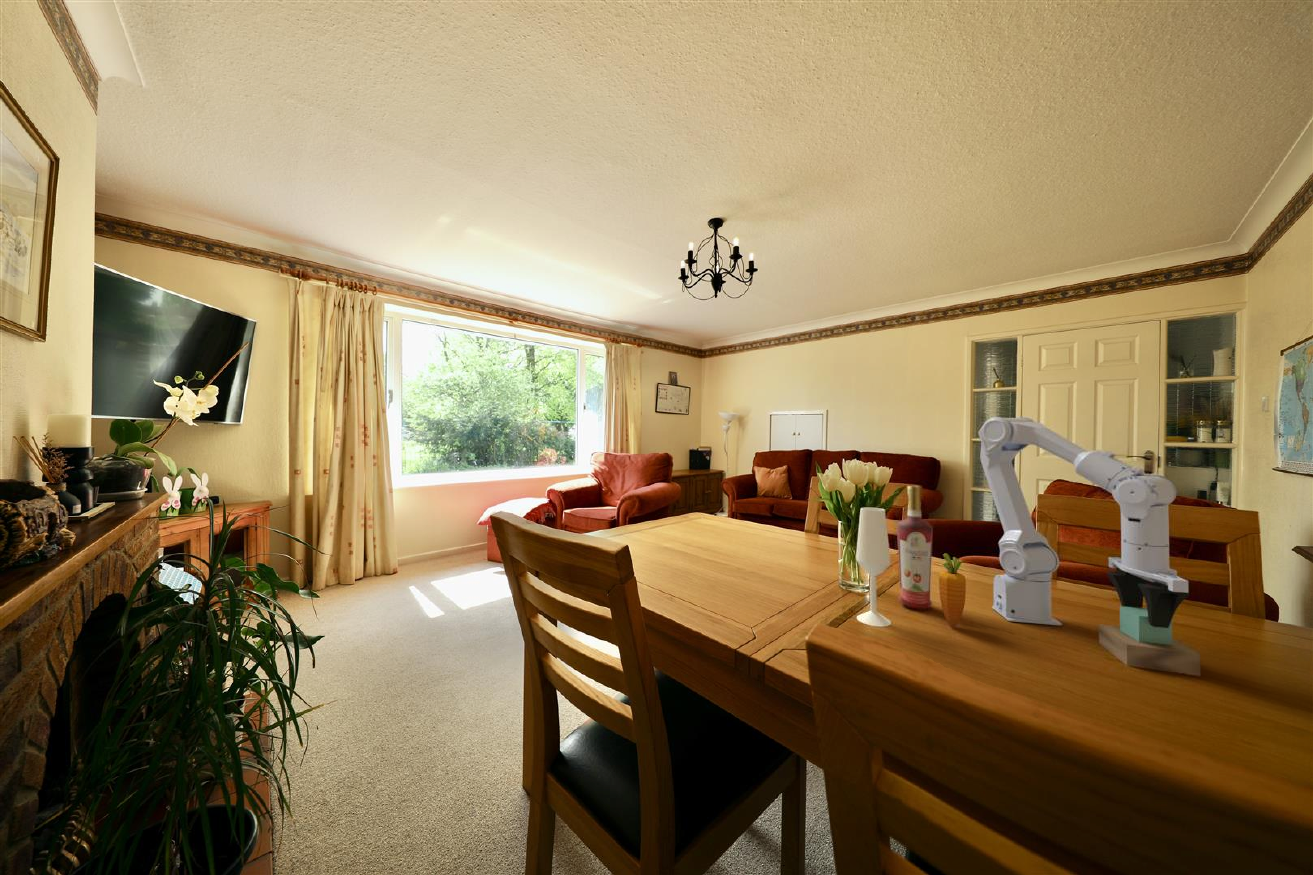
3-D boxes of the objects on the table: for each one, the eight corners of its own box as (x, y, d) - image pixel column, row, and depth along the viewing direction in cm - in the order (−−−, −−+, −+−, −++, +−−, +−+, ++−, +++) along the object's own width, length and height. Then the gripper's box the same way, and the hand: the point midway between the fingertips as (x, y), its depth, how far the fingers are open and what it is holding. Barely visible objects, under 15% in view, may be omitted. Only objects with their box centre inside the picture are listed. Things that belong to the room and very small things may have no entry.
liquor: (899, 609, 101) (898, 487, 101) (895, 598, 108) (894, 484, 108) (936, 614, 98) (935, 488, 98) (930, 602, 105) (929, 485, 105)
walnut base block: (1127, 667, 76) (1126, 644, 76) (1099, 645, 84) (1098, 624, 84) (1200, 678, 72) (1200, 653, 72) (1163, 653, 81) (1163, 631, 81)
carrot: (972, 633, 88) (971, 558, 89) (944, 631, 89) (943, 557, 90) (960, 623, 93) (959, 552, 93) (934, 621, 94) (933, 551, 94)
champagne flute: (873, 612, 100) (872, 506, 100) (898, 624, 93) (897, 510, 93) (849, 616, 98) (848, 507, 98) (873, 628, 91) (872, 512, 91)
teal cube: (1138, 641, 77) (1138, 615, 77) (1119, 630, 81) (1119, 606, 81) (1172, 644, 76) (1172, 618, 75) (1150, 633, 80) (1150, 608, 80)
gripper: (1212, 554, 70) (1213, 640, 70) (1140, 535, 84) (1141, 606, 84) (1156, 552, 72) (1157, 635, 72) (1094, 533, 86) (1095, 603, 86)
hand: (1145, 619), depth 78 cm, fingers open, 5 cm apart
